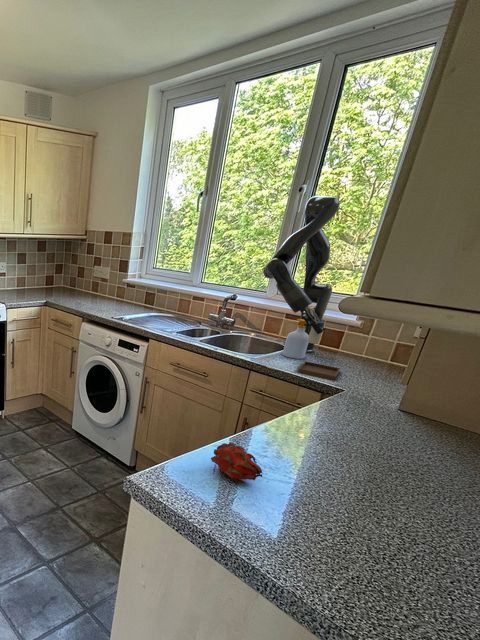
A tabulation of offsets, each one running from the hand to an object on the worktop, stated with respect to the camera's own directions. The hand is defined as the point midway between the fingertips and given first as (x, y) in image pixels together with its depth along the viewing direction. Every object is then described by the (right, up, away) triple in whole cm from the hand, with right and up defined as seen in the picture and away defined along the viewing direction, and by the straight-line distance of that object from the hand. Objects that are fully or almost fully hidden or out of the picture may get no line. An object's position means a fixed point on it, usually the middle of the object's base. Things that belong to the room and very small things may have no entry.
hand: (321, 331), depth 172 cm
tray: (+1, -17, +3) cm, 17 cm away
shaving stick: (-2, -4, +3) cm, 5 cm away
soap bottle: (+4, -9, +25) cm, 27 cm away
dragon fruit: (-74, -44, -75) cm, 114 cm away
